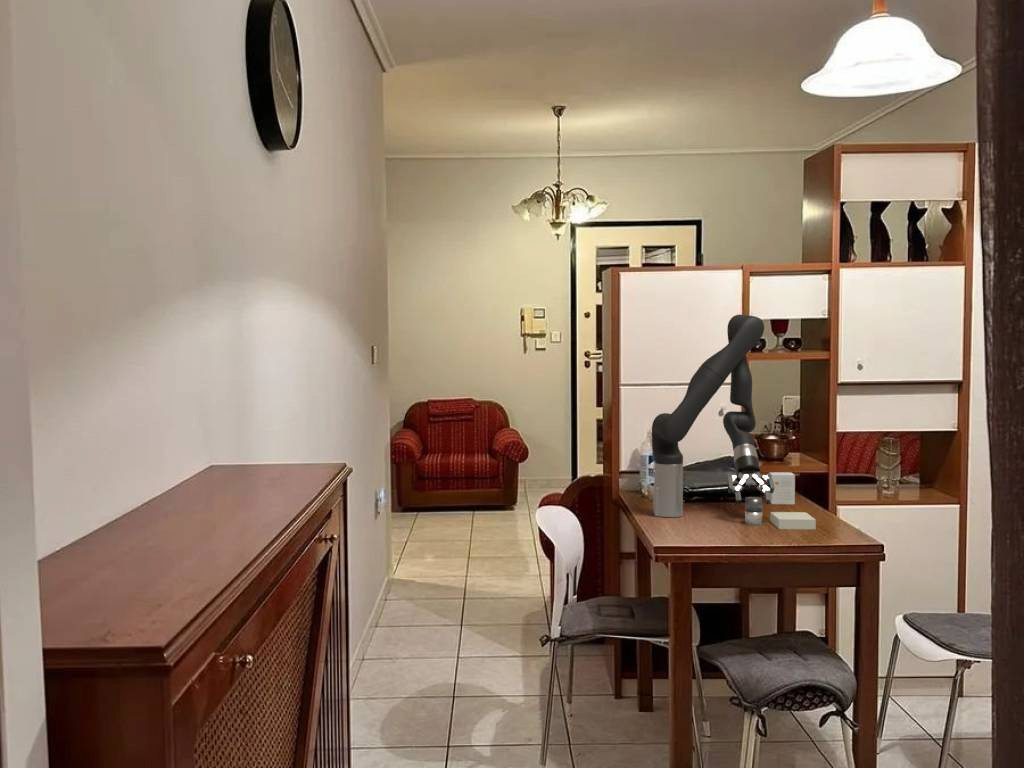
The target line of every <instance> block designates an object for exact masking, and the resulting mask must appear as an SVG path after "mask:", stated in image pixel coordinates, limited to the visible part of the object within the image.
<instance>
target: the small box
mask: <svg viewBox="0 0 1024 768" xmlns="http://www.w3.org/2000/svg"><path fill="white" fill-rule="evenodd" d="M768 474H771V475H772V479H773V482H774V486H775V489H774V492H773V493H770V498H771V499H770V504H771V505H788V506H789V505H793V506H794V505H796V498H795V497H796V491H795V490H796V475H795V474H794V473H792V471H791V472H787V471H786V472H783V471H782V472H778V471H776V472H774V471H773V472H768Z"/></svg>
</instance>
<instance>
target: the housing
mask: <svg viewBox="0 0 1024 768" xmlns="http://www.w3.org/2000/svg"><path fill="white" fill-rule="evenodd" d="M763 499H764V498H762V497H758V496H748V497H747V496H746V497H745V499H744V501H745V503H744V506H745V507H744V524H745V525H749V526H762V525H763V504H764V503H763Z"/></svg>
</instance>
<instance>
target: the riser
mask: <svg viewBox="0 0 1024 768" xmlns="http://www.w3.org/2000/svg"><path fill="white" fill-rule="evenodd" d="M769 517H770V519H769V520H770V523H771V524H773V525H774V526H775V528H777V529H778V530H816V528H817V526H816V525H817V523H816V522H817V521H816V520H817V519H815V518H814V517H813V516H811V515H810V514H809V513H807V512H804V511H803V512H800V511H799V512H798V511H797V512H795V511H787V512H786V511H770V516H769Z"/></svg>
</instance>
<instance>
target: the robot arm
mask: <svg viewBox="0 0 1024 768" xmlns="http://www.w3.org/2000/svg"><path fill="white" fill-rule="evenodd" d="M726 329H727V332H726V333H727V341H728V344H727V345H725V346H724V347H723V348H722V349H720V350H719V351H717V352H716V353H714V354H712V356H710V357H709V358H707V359H706V360H705V361H704V362H702V364H701V365H700V366H699V367H698V368H697V370H696V371H695V372H694V374H693V375H692V377H691V378H690V381H689V382H688V385H687V389H686V393H685V395H684V398H683V399H682V400H681V402H680V403H679V405H678V406H677V407H676V408H675V410H673V412H672V413H668V412H665V413H663V412H662V413H660V414H658V415H656V417H655V418H654V419H653V421H652V425H651V448H652V454H653V458H654V467H653V469H654V471H653V473H654V475H653V476H654V478H653V479H654V481H653V482H654V483H653V485H652V486H653V488H652V489H653V490H652V491H653V493H652V495H653V498H652V499H653V500H652V501H653V504H652V505H653V506H652V508H653V509H652V510H653V511H652V513H653V514H654V516H655V517H660V518H679V517H682V516H683V515H684V514H683V510H684V509H683V505H684V504H683V502H684V500H683V499H684V498H683V497H684V496H683V495H684V490H683V489H684V488H683V487H684V455H683V453H682V452H681V451H680V447H679V442H682V440H683V439H684V438H685V437H686V436H687V434H688V433H689V431H690V430H691V428H692V426H693V424H694V423H695V421H696V420H697V418H698V416H699V415H700V413H701V412H702V411H703V410H704V409H705V407H706V405H708V403H709V402H710V401H711V399H712V398H714V395H715V394H716V393H717V392H718V390H720V388H721V387H722V385H723V384H725V383H724V382H726V380H727V378H728V377H729V376H730V389H729V390H730V392H729V394H730V395H729V402H730V403H731V404H733V405H736V406H740V407H743V409H744V411H734V410H733V411H728V412H726V413H725V414H724V416H723V418H722V424H723V427H724V430H725V432H726V434H727V435H728V437H729V438H730V442H731V444H732V445H731V446H732V450H733V463H734V466H735V472H736V475H734V474H732V473H728V474H727V478H726V480H727V493H728V494H734V499H735V502H736V503H737V505H741V504H742V496H741V491H742V490H743V489H744V488H745V489H757V490H758V491H759V492H762V493H763V496H764V498H763V499H764V503H765V505H769V503H770V499H771V498H770V493H773V492H774V489H775V486H774V482H773V479H772V475H771V474H769V473H767V475H763V474H762V473H761V468H760V462H759V461H760V460H759V456H758V452H757V450H756V446H755V441H754V440H755V439H754V436H753V435H752V434H751V433H752V432H753V431H754V430H755V428H756V425H757V424H756V423H757V422H756V421H757V420H756V417H755V413H754V409H753V402H752V401H753V400H752V398H753V397H752V395H753V394H752V393H753V377H752V373H751V369H750V366H749V363H748V357H747V354H748V353H749V352H750V351H751V350H752V349H753V348H754V347H755V346H756V345H757V343H758V342H759V341H761V338H762V337H763V335H764V332H765V323H764V321H763V320H762V319H761V318H760V317H759V316H755V315H746V314H735V315H734V316H732V317H731V318H730V319H729V321H728V324H727V328H726ZM735 480H736V482H737V483H738V484H737V486H736V487H734V482H735ZM763 480H764V481H763ZM766 483H767V485H766ZM770 504H771V503H770Z"/></svg>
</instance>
